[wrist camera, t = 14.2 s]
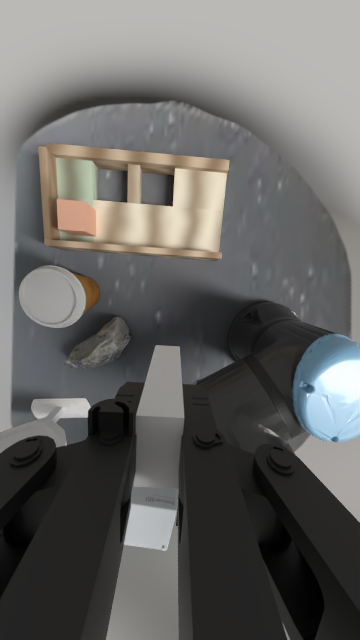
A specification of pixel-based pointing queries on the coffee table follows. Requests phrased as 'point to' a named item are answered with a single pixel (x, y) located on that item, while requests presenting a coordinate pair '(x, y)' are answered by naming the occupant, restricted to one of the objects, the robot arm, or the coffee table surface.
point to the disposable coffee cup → (57, 296)
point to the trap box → (136, 202)
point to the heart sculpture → (46, 420)
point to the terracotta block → (76, 217)
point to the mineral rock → (101, 346)
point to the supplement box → (151, 517)
